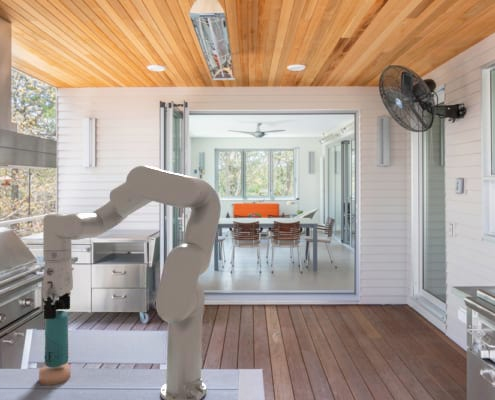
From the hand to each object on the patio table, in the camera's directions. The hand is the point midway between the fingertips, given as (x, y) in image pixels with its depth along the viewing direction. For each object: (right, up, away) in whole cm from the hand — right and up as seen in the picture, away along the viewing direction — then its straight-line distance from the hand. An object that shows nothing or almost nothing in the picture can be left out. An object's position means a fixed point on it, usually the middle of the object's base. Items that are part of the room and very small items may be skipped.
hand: (57, 313), depth 118 cm
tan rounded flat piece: (-1, -19, 0) cm, 19 cm away
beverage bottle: (-1, -17, 0) cm, 17 cm away
